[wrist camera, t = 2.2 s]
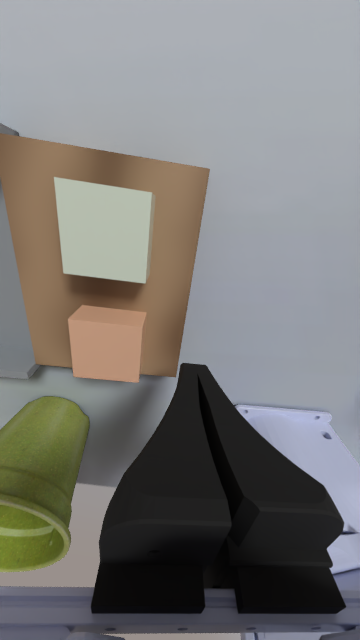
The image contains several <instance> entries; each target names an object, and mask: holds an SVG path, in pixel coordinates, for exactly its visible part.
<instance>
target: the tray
mask: <svg viewBox="0 0 360 640" xmlns="http://www.w3.org/2000/svg"><path fill="white" fill-rule="evenodd" d="M0 133H2V134H8V135H14V136H19V133H18V132H16V131H14V130H12V129H11V128H9V127H7V126H5V125H3V124H1V123H0ZM40 366H41V365H39V364H36V363H35V357H34V352H33V347H32V342H31V336H30V331H29V326H28V321H27V315H26V310H25V305H24V300H23V294H22V289H21V284H20V278H19V273H18V268H17V263H16V257H15V252H14V247H13V242H12V236H11V231H10V226H9V220H8V215H7V210H6V205H5V199H4V194H3V189H2V184H1V178H0V377H8V378H19V379H29V378H30V377H31V376H32V375H33V374H34V372H35V371H36V370H37V369H38V368H39V367H40Z"/></svg>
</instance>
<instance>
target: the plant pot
mask: <svg viewBox="0 0 360 640" xmlns="http://www.w3.org/2000/svg"><path fill="white" fill-rule="evenodd" d="M88 430H89V418H88V416H86V415H85V414H83V412H82V411H81V410H80V408H79V406H78V405H77V404H75V403H74V402H72V401H69V400H67V399H64V398H60V397H53V396H47V397H41V398H39V399H37V400H35V401H32V402H29V403H27V404H26V405H25V406H24V407H23V408H22V409H21V410H20V411H19V412H18V413H17V414H16V415H15V416H14V417H13V418H12V419H11V420H10V421H9V422H8V423H7V424H6V425H5V426H4V427H3V428H2V429H1V430H0V572H20V571H30V570H36V569H39V568H44V567H47V566H50V565H52V564H54V563H55V562H57V561H59V560H60V559H62V558H63V557H64V556H65V555H66V554H67V552H68V550H69V547H70V543H71V535H70V532H69V529H68V527H69V522H70V517H71V512H72V511H71V501H72V496H73V492H74V488H75V484H76V480H77V476H78V472H79V467H80V463H81V459H82V455H83V451H84V447H85V443H86V439H87V434H88Z"/></svg>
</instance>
